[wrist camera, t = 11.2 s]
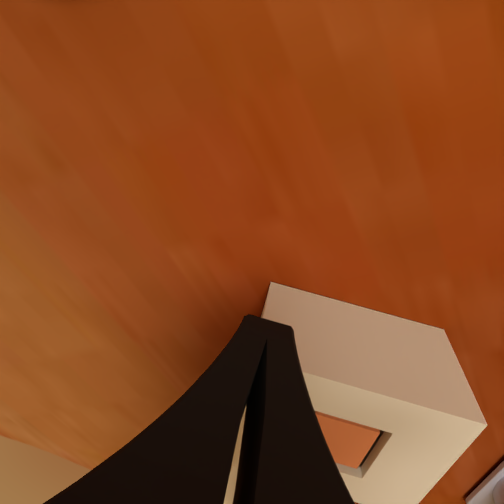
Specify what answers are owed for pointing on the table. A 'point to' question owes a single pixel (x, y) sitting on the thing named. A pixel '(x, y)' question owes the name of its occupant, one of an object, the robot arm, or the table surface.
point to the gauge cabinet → (381, 391)
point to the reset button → (347, 439)
